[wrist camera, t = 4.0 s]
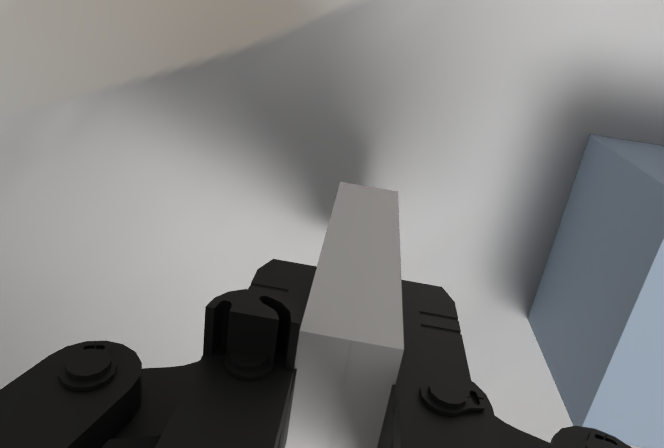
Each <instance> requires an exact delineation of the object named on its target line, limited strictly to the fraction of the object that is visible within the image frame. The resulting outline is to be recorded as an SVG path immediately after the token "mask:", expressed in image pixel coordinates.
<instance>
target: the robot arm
mask: <svg viewBox="0 0 664 448" xmlns="http://www.w3.org/2000/svg"><path fill="white" fill-rule="evenodd" d="M460 332H461V330H460V326H459V321H458V316H457V311H456V307H455V302H454V301H453V300H452V299H451V297H450V296H449V295H448V294H447V293H446V291H445V290H444V289H443V288H442V287H439V286H433V285H428V284H422V283H416V282H411V281H405V280H401V259H400V233H399V207H398V191H392V190H386V189H380V188H374V187H368V186H362V185H357V184H351V183H345V182H340V184H339V188H338V191H337V195H336V199H335V202H334V206H333V210H332V213H331V217H330V221H329V224H328V228H327V232H326V235H325V239H324V243H323V246H322V250H321V254H320V258H319V261H318V265H317V267H316V266H310V265H304V264H299V263H293V262H287V261H282V260H276V259H273V260H271V261H270V262H268V263H267V264H265V265H264V266H262V267H260V268H259V269H258V270H257V272H256V274H255V276H254V278H253V280H252V282H251V286H250V287H249V289H244V290H237V291H230V292H227V293H225V294H222V295H220V296H218V297H215V298H214V299H213V300H212V301H211V302H210V303H209V304H208V305H207V306H206V310H205V329H204V348H203V356H202V358H201V360H200V361H198V362H195V363H191V364H188V365H184V366H176V367H166V368H145V369H142V363H141V361H140V359H139V357H138V356H137V354H136V352H135V351H133V350H131V349H130V348H128V347H126V346H125V345H123V344H119V343H114V342H109V341H86V342H82V343H78V344H75V345H71V346H67V347H65V348H63V349H61V350H59V351H57V352H55V353H53V354H51V355H49V356H48V357H46V358H45V359H44V360H42V361H41V362H39V363H38V364H36V365H35V366H34V367H32V368H31V369H29V370H28V371H27V372H25V373H24V374H22V375H21V376H19V377H18V378H17V379H15V380H14V381H12V382H11V383H9V384H8V385H7V386H5V387H4V388H2V389H1V390H0V448H631V447H630V446H628V445H627V444H625V443H624V442H622V441H621V440H619V439H618V438H616V437H614V436H612V435H609V434H607V433H605V432H602V431H600V430H597V429H595V428H588V427H582V426H572V427H567V428H562V429H561V430H560V431H559V432H558V433H556V434H555V435H554V436H553V438H552V440H551V443H549V442H546V441H544V440H542V439H539V438H537V437H535V436H532V435H530V434H527V433H525V432H523V431H520V430H518V429H516V428H514V427H512V426H510V425H508V424H506V423H504V422H503V421H502V420H500V419H499V418H497V417H496V416H495V415H494V412H493V408H492V406H491V404H490V402H489V400H488V398H487V396H486V394H485V393H484V392H483V391H482V390H481V389H480V388H479V387H478V386H477V385H476V384H475V383H474V382H472V381H471V378H470V373H469V368H468V364H467V359H466V354H465V349H464V345H463V340H462V335H461V334H460Z"/></svg>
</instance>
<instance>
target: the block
mask: <svg viewBox="0 0 664 448" xmlns="http://www.w3.org/2000/svg"><path fill="white" fill-rule="evenodd" d="M528 321H529V323H530V325H531V328H532V330H533V332H534V335H535V337H536V339H537V342H538V344H539V346H540V349H541V351H542V353H543V356H544V358H545V360H546V363H547V365H548V367H549V370H550V372H551V374H552V377H553V379H554V381H555V384H556V386H557V388H558V391H559V393H560V395H561V398H562V400H563V402H564V405H565V407H566V409H567V412H568V414H569V416H570V419H571V421H572V423H573V426H582V427H588V428H595V429H597V430H600V431H602V432H605V433H607V434H609V435H612V436H614V437H616V438H618V439H619V440H621V441H622V442H624V443H625V444H627V445H631V446H637V447H643V448H664V146H662V145H655V144H648V143H642V142H635V141H629V140H622V139H616V138H609V137H603V136H596V135H590V137H589V140H588V143H587V145H586V148H585V151H584V154H583V157H582V160H581V163H580V166H579V169H578V172H577V175H576V178H575V181H574V184H573V187H572V190H571V193H570V196H569V199H568V201H567V204H566V207H565V210H564V213H563V216H562V219H561V222H560V225H559V228H558V231H557V234H556V237H555V240H554V243H553V246H552V249H551V252H550V254H549V257H548V260H547V263H546V266H545V269H544V272H543V275H542V278H541V281H540V284H539V287H538V290H537V293H536V296H535V299H534V302H533V305H532V308H531V310H530V313H529V316H528Z"/></svg>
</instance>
